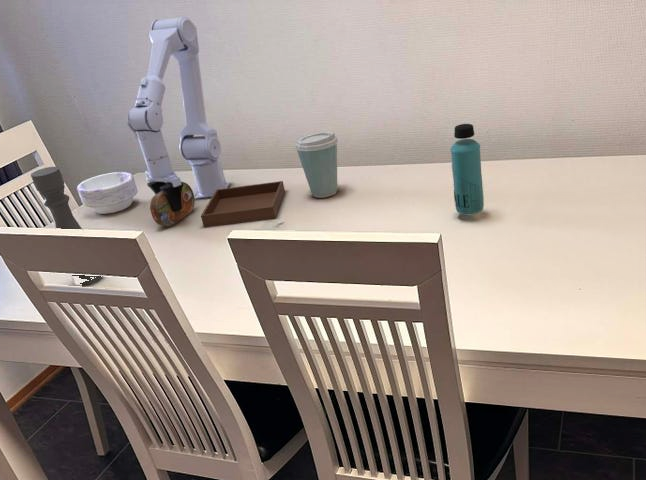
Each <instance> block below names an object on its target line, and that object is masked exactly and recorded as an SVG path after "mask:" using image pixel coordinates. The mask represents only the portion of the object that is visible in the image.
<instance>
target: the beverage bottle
mask: <svg viewBox="0 0 646 480" xmlns="http://www.w3.org/2000/svg"><path fill="white" fill-rule="evenodd" d="M453 135H454V138H455V139H458V140H457V141H455V142H454V143H453V144H452V145H451V147H450V154H451V170H452V180H453V185H452V186H453V199H454V202H453V203H454V208H455V211H456V212H457V213H458V214H460V215H474V214H479V213H480V212H482V211H483V210H484V206H485V201H484V198H485V197H484V196H485V194H484V186H483V183H484V182H483V174H482V160H481V159H482V158H481V157H482V156H481V144H480V143H479V142H478V141H476V140H475V139H473V138H472V137H474V136H475V129H474V125H473V124H472V123H461V124H457V125H456V126H455V127H454V133H453Z"/></svg>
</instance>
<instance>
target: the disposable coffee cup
mask: <svg viewBox="0 0 646 480" xmlns="http://www.w3.org/2000/svg"><path fill="white" fill-rule="evenodd" d="M338 142H339V140H338V137H337V136H336V135H335V132H334V131H330V130H329V131H328V130H327V131H320V132H315V133H311V134H308V135H304V136H303V137H300V138H299V139H298V140H297V141H296V143H295V149H296V151H297V154H298V157H299V161H300V164H301V166H302V169H303V172H304V175H305V178H306V181H307V184H308V187H309V190H310V193H311V194H312V196H313V197H314V198H319V199H321V198H328V197H332V196H334V195H336V194H337V192H338Z"/></svg>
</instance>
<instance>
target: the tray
mask: <svg viewBox="0 0 646 480" xmlns="http://www.w3.org/2000/svg"><path fill="white" fill-rule="evenodd" d="M285 193H286V190H285V185H284V181H283V180H280V181H270V182H263V183H257V184H249V185H242V186H233V187H228V188H225V189H217V190H216V191H215V193H214V194H213V196H212V197H210V199H209V201H208V202H207V204H206V206H205V208H204V210H203V211H202V213H201V215H200V218H201V223H202V225H203V226H202V227H203V228H208V227H217V226H225V225H232V224H239V223H247V222H249V223H250V222H256V221H265V220H272V219H276V218H277V215H278V212H279V209H280V206H281V204H282V201H283V198H284V196H285Z"/></svg>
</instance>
